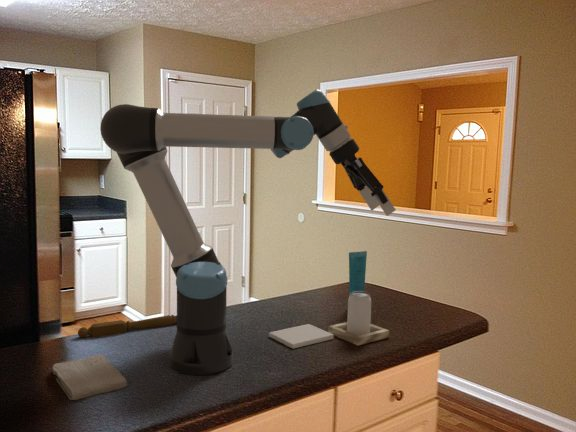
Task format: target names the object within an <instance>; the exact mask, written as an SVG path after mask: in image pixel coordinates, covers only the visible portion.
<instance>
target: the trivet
mask: <svg viewBox="0 0 576 432" xmlns="http://www.w3.org/2000/svg"><path fill="white" fill-rule="evenodd" d="M268 337H269V338H271V339H273V340H275V341H276V342H279V343H281V344H283V345H285V346H286V347H288V348H291V349H297V348H301V347H305V346H310V345H313V344H318V343H322V342H326V341H330V340H334V338H335V336H334V335H333V334H331V333H329V332H328V331H326V330H323V329H322V328H319V327H317V326H315V325H312V324H310V323H307V324H306V323H305V324H302V325H298V326H292V327H287V328H284V329H279V330H274V331H270V332H269V333H268Z"/></svg>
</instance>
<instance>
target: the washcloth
mask: <svg viewBox="0 0 576 432" xmlns="http://www.w3.org/2000/svg"><path fill="white" fill-rule="evenodd" d="M52 373H53V376H54V375H56V376H57V378H58V379H57V378H56V377H55V378H56V379H55V380H56V382H57V383H58V385H59V386H60V388H62V390H63V392H64V393H65V394H66V397H68V399H69V400H70V401H77V400H81V399H85V398H89V397H91V396H92V397H93V396H96V395H99V394H106V393H109V392H113V391H118V390H121V389H124V388H126V387H127V386H128V385H129V384H128V381H127V378H126V377H125V376H123V375H122V373H120V371H119V370H118V369H117V368H116V367H115V366H114V364H112V363H111V362H110V361H109V359H107V357H106V356H105V355H103V354H95V355H92V356H89V357H85V358H81V359H70V360H65V361H62V362H58V363H54V364H53V365H52Z"/></svg>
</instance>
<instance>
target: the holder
mask: <svg viewBox="0 0 576 432" xmlns="http://www.w3.org/2000/svg"><path fill="white" fill-rule="evenodd" d="M327 330H328V331H327V332H329V333H331V334H333V335H334V337H337V338H339V339H341V340H343V341H346V342H348V343H351V344H353V345H355V346H357V347H358V346H361V345H366V344H369V343H372V342H373V343H374V342H376V341H380V340H384V339H388V338H390V330H389V329H387V328H383V327H381V326H379V325H376V324H374V323H371V322H370V333H367V334H363V335H359V336H358V335H355V334H353V333H350V332H348V331H347V321H344V322H341V323H336V324H333V325H329V326H328V329H327Z"/></svg>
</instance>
